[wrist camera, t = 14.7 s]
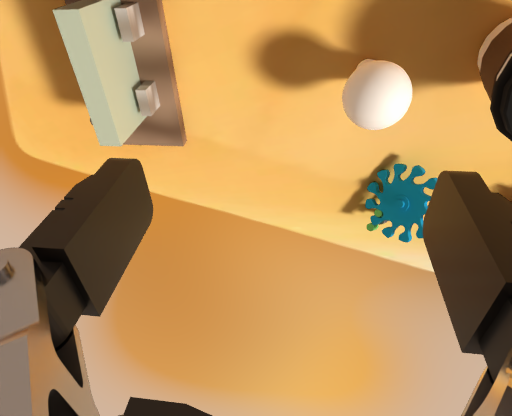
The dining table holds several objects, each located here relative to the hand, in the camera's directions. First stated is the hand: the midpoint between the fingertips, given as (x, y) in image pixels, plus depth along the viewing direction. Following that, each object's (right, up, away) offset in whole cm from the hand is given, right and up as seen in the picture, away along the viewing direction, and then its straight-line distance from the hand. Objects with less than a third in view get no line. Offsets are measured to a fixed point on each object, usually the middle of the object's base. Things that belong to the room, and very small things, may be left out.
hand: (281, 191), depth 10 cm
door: (-16, +16, +30) cm, 38 cm away
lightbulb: (+11, +15, +29) cm, 35 cm away
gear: (+18, +2, +38) cm, 43 cm away
